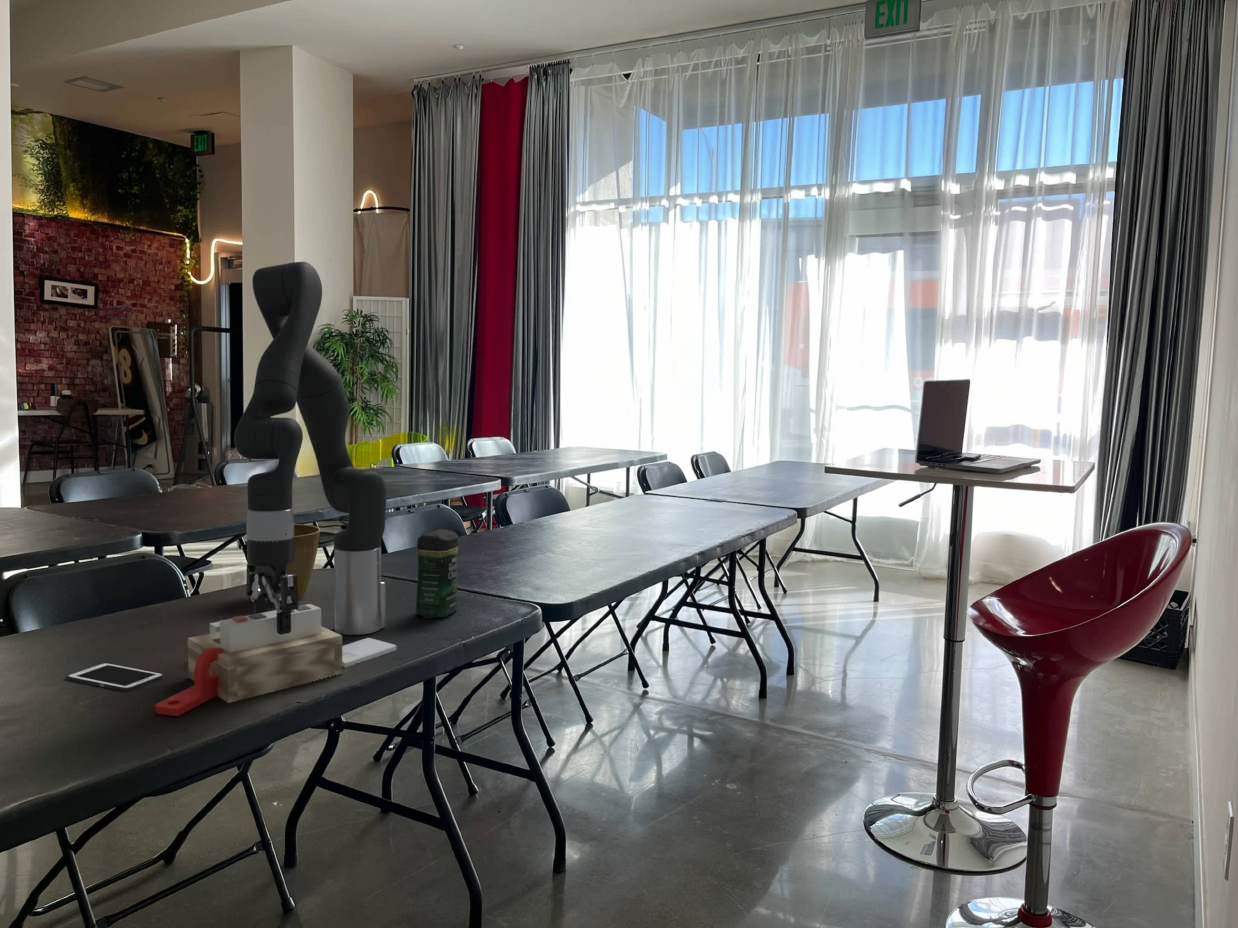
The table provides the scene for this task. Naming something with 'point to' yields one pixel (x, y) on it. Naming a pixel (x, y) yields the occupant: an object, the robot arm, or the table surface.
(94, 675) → the cell phone
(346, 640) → the table surface
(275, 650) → the wooden block with holes
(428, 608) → the coffee jar
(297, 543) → the plant pot
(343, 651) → the external hard drive
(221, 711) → the table surface
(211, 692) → the bracket
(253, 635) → the power strip
